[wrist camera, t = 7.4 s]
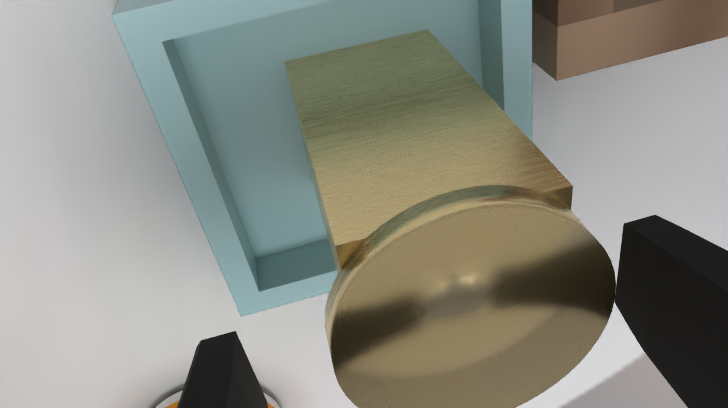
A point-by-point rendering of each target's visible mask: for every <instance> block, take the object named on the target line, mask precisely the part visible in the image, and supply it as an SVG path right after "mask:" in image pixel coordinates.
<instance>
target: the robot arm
mask: <svg viewBox="0 0 728 408" xmlns="http://www.w3.org/2000/svg"><path fill="white" fill-rule="evenodd" d="M615 304H616V305H617V307H618V309H619V311H620V312H621V314H622V316H623V317H624V319H625V321H626V323H627V324H628V326H629V328H630V330H631V331H632V333H633V334H634V336H635V338H636V339H637V341H638V342H639V344H640V346H641V347H642V349H643V350H644V352H645V353H646V354H647V356H648V357H649V358H650V360H651V361H652V362H653V363H654V365H655V366H656V367H657V369H658V370H659V371H660V372H661V374H662V375H663V376H664V378H665V379H666V380H667V382H668V383H669V384H670V385H671V387H672V388H673V389H674V390H675V392H676V393H677V394H678V396H679V397H680V398H681V399H682V401H683V402H684V403H685V404H686V406H687V407H688V408H728V251H727V250H725V249H723V248H721V247H719V246H717V245H715V244H713V243H711V242H709V241H707V240H705V239H703V238H701V237H699V236H697V235H696V234H694V233H692V232H690V231H688V230H686V229H684V228H682V227H680V226H678V225H676V224H673V223H671V222H669V221H667V220H665V219H663V218H661V217H659V216H657V215H653V216H649V217H646V218H642V219H639V220H635V221H631V222H628V223H624V226H623V235H622V243H621V252H620V260H619V268H618V277H617V285H616V294H615ZM177 408H268V404H267V400H266V398H265V396H264V393H263V391H262V389H261V387H260V384H259V382H258V380H257V378H256V376H255V373H254V371H253V369H252V367H251V364H250V362H249V360H248V358H247V356H246V353H245V351H244V349H243V347H242V344H241V342H240V340H239V338H238V335H237V333H236V331H234V332H230V333H226V334H223V335H219V336H216V337H212V338H208V339H205V340H201V341H200V343H199V344H198V346H197V348H196V351H195V355H194V358H193V361H192V364H191V367H190V370H189V374H188V377H187V380H186V383H185V386H184V388H183V391H182V394H181V397H180V400H179V403H178V405H177Z"/></svg>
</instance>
